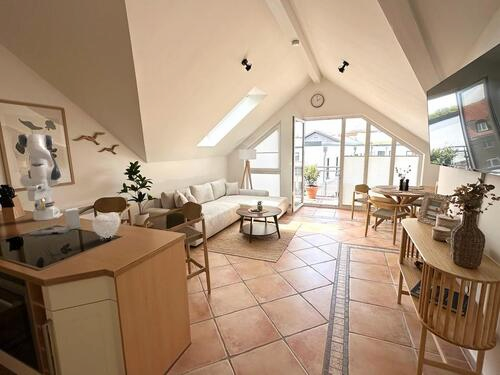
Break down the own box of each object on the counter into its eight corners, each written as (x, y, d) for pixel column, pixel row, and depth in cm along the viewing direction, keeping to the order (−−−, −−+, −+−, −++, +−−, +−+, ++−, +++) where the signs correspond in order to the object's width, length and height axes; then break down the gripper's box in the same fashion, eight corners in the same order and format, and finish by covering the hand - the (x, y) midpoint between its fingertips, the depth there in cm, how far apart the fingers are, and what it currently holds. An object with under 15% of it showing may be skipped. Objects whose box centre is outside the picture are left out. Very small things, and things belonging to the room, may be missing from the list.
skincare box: (80, 226, 189) (78, 207, 187) (80, 228, 184) (79, 209, 182) (66, 228, 184) (64, 209, 182) (67, 230, 179) (65, 210, 177)
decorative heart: (114, 233, 172) (112, 210, 170) (125, 235, 168) (123, 211, 166) (89, 242, 156) (87, 216, 154) (100, 244, 152) (98, 218, 149)
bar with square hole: (36, 231, 175) (35, 228, 175) (69, 230, 179) (69, 226, 178) (29, 235, 168) (28, 231, 168) (64, 233, 172) (63, 229, 171)
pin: (41, 209, 179) (40, 197, 178) (46, 209, 179) (45, 197, 178) (38, 210, 176) (37, 198, 174) (43, 210, 176) (42, 198, 175)
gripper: (44, 184, 185) (46, 202, 187) (24, 188, 165) (27, 207, 167) (53, 184, 186) (55, 201, 188) (34, 187, 166) (37, 207, 168)
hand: (42, 204), depth 177 cm, fingers closed on pin, 3 cm apart
